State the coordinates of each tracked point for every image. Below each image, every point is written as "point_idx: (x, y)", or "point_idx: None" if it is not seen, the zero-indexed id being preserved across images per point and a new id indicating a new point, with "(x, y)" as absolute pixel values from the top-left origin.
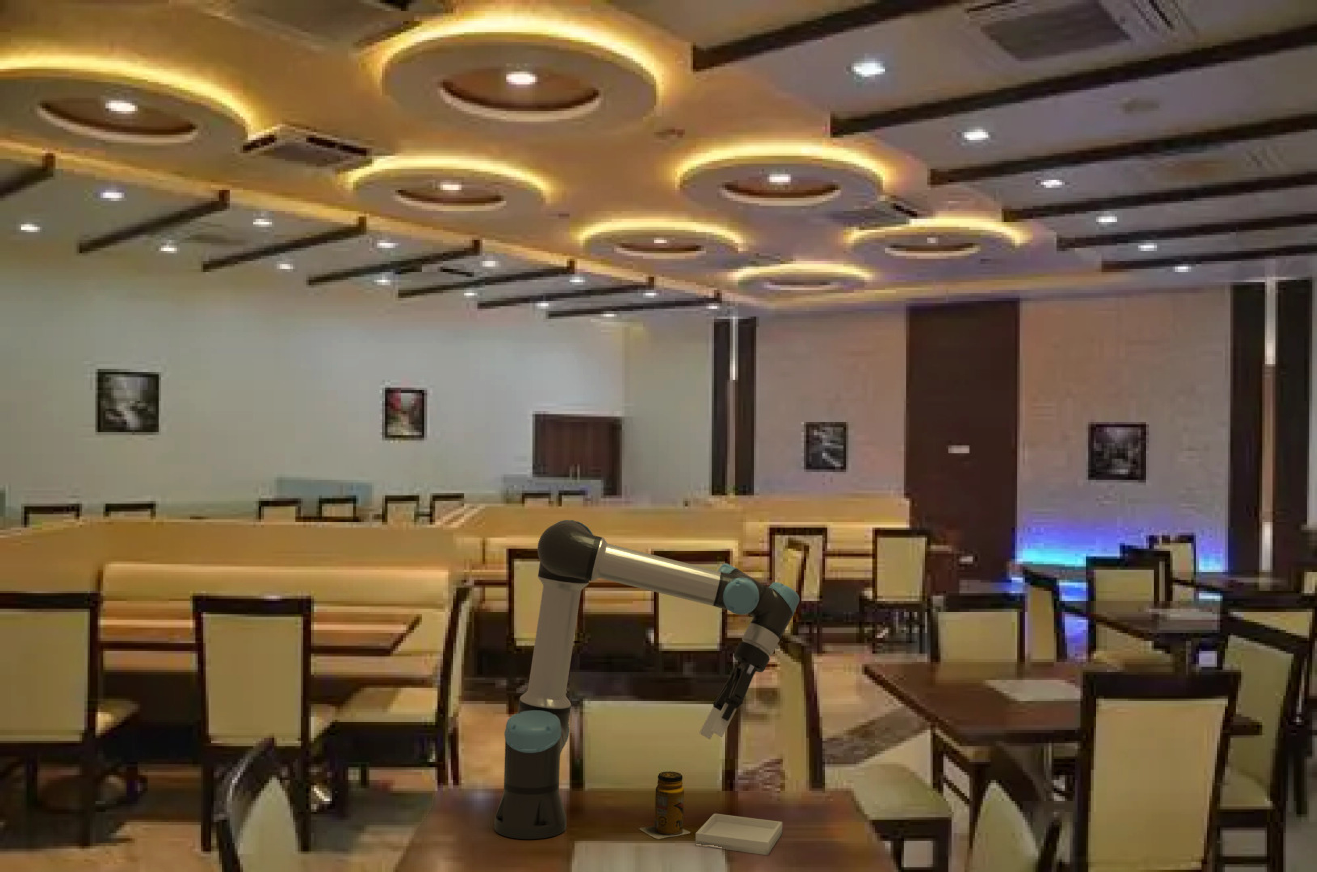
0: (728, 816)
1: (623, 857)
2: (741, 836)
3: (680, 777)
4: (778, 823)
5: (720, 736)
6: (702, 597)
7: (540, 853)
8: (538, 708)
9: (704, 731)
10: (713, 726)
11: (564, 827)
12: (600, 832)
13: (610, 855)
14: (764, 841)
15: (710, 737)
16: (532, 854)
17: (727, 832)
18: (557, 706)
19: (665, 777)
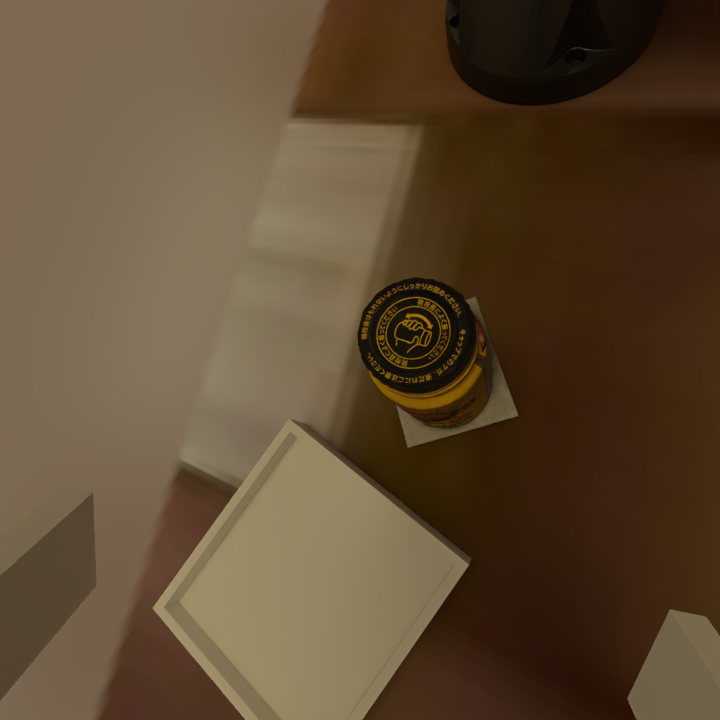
0: (425, 607)
1: (278, 225)
2: (291, 580)
3: (370, 370)
4: None
5: (91, 575)
6: None
7: (354, 56)
8: None
9: (677, 672)
10: (30, 514)
11: (498, 92)
12: (474, 190)
13: (299, 198)
14: (162, 602)
15: (636, 710)
16: (352, 42)
17: (337, 551)
18: None
19: (375, 299)
